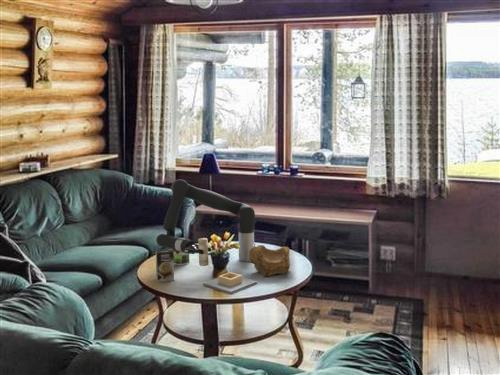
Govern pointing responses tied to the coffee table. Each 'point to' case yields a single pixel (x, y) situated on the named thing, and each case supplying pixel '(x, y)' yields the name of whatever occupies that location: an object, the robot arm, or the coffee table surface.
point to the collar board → (230, 283)
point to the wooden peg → (204, 246)
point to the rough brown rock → (270, 260)
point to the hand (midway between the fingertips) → (206, 250)
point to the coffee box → (164, 265)
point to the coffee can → (181, 257)
